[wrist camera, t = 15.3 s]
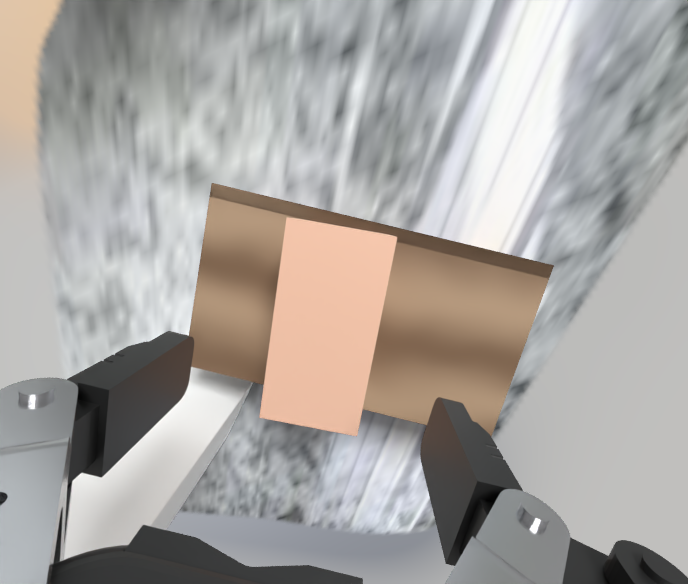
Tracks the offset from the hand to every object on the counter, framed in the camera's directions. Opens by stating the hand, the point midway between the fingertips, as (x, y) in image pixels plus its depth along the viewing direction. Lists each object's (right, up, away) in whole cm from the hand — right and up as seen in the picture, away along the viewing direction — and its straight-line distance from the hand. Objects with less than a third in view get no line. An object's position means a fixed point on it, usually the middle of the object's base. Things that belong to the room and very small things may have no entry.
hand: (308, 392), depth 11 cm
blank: (0, +2, +10) cm, 10 cm away
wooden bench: (+2, +3, +16) cm, 16 cm away
